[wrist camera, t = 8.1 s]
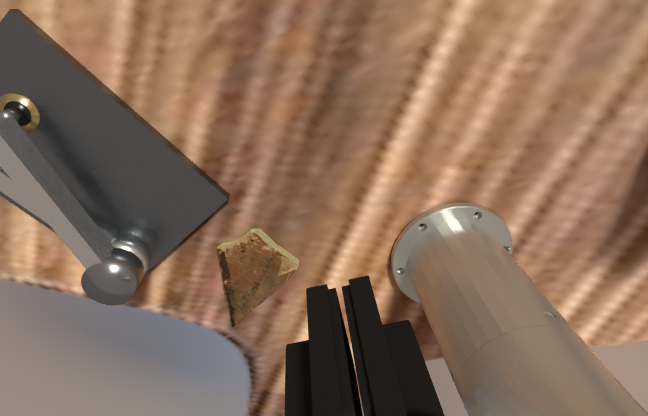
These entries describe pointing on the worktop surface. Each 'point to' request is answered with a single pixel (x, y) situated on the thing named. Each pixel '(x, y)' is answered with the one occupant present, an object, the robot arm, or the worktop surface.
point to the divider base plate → (99, 148)
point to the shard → (252, 271)
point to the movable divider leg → (67, 216)
